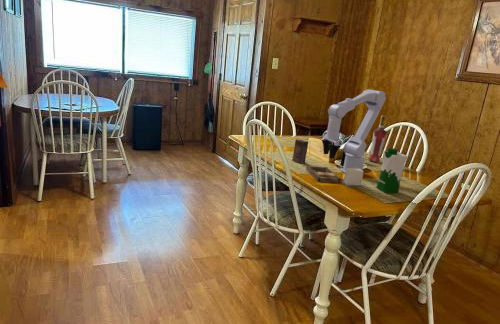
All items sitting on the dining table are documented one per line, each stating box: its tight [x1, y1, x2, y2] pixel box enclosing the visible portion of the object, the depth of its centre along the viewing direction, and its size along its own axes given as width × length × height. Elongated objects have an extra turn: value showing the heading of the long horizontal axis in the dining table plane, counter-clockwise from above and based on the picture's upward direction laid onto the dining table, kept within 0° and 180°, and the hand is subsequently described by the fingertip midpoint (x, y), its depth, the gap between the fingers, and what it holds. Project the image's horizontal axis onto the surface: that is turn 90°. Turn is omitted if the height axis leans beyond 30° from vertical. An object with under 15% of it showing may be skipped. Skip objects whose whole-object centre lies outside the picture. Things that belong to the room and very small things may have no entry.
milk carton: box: [375, 147, 409, 194], centre depth 167 cm, size 9×9×20 cm
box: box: [292, 138, 309, 164], centre depth 199 cm, size 6×4×12 cm
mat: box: [340, 180, 364, 188], centre depth 172 cm, size 8×7×1 cm
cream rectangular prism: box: [342, 168, 365, 185], centre depth 171 cm, size 7×4×7 cm, turn 100°
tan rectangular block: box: [316, 171, 337, 178], centre depth 175 cm, size 8×4×3 cm, turn 94°
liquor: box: [368, 115, 387, 163], centre depth 219 cm, size 7×7×28 cm
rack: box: [305, 165, 342, 184], centre depth 180 cm, size 11×18×2 cm, turn 10°
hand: (328, 156), depth 181 cm, fingers open, 7 cm apart
